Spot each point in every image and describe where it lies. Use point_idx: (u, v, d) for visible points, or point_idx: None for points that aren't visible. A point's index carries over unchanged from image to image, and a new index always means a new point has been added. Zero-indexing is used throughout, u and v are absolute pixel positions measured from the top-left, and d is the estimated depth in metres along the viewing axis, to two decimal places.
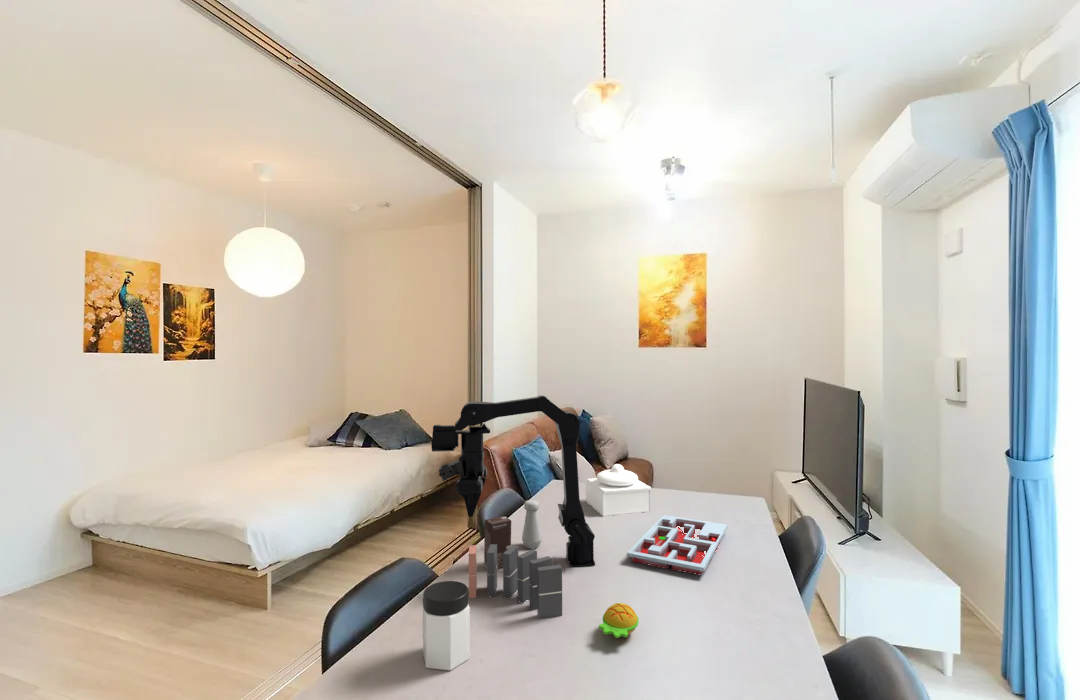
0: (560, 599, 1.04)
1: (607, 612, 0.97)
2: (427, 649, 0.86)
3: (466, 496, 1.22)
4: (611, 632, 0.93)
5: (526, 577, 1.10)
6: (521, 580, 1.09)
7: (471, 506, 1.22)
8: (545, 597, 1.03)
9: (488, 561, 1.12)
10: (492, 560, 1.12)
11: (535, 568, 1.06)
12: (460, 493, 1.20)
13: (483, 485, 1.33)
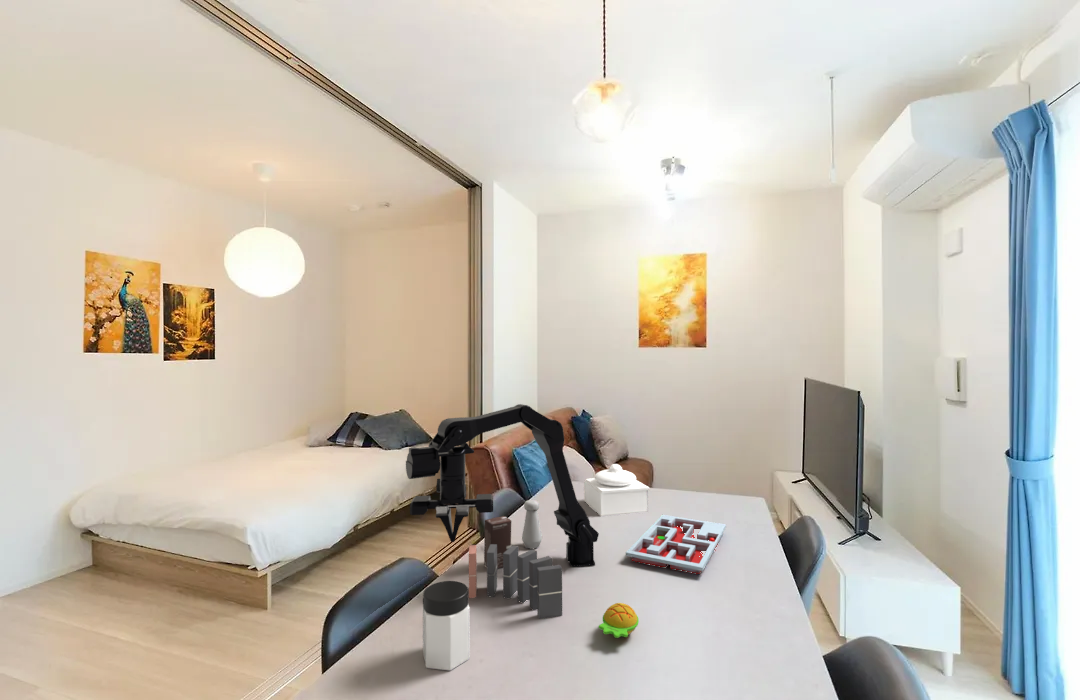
0: (560, 599, 1.04)
1: (607, 612, 0.97)
2: (427, 649, 0.86)
3: None
4: (611, 632, 0.93)
5: (526, 577, 1.10)
6: (521, 580, 1.09)
7: None
8: (545, 597, 1.03)
9: (488, 561, 1.12)
10: (492, 560, 1.12)
11: (535, 568, 1.06)
12: None
13: (454, 522, 1.12)
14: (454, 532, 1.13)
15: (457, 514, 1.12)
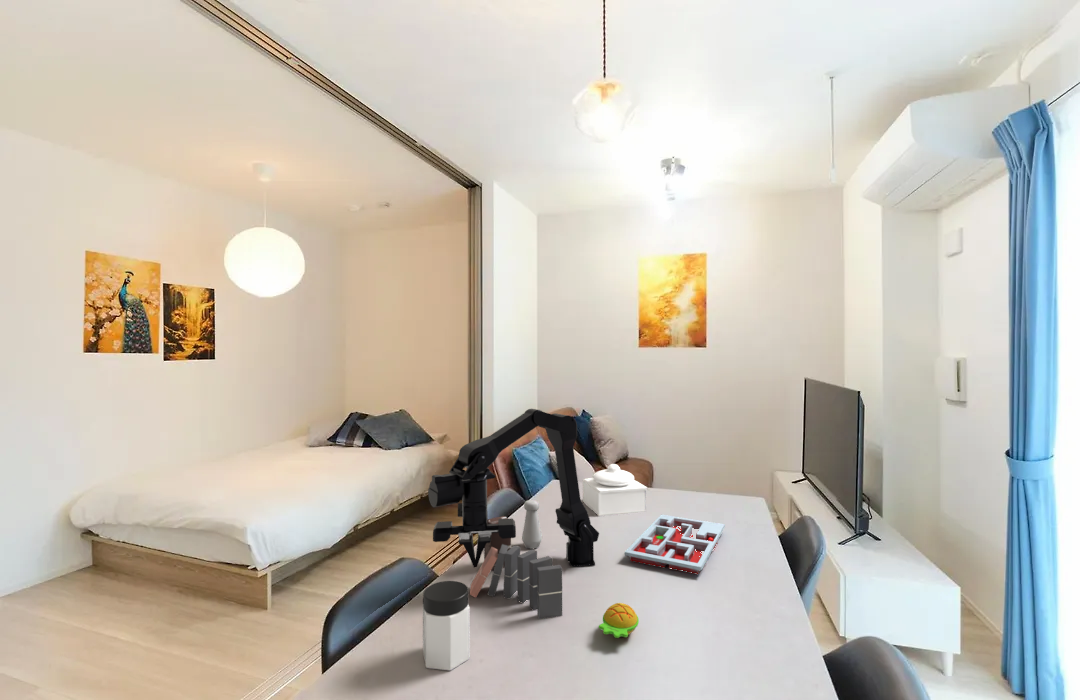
0: (560, 599, 1.04)
1: (607, 612, 0.97)
2: (427, 649, 0.86)
3: None
4: (611, 632, 0.93)
5: (526, 577, 1.10)
6: (521, 580, 1.09)
7: None
8: (545, 597, 1.03)
9: (498, 561, 1.12)
10: (502, 561, 1.12)
11: (535, 568, 1.06)
12: None
13: (477, 548, 1.12)
14: (477, 558, 1.13)
15: (480, 540, 1.12)
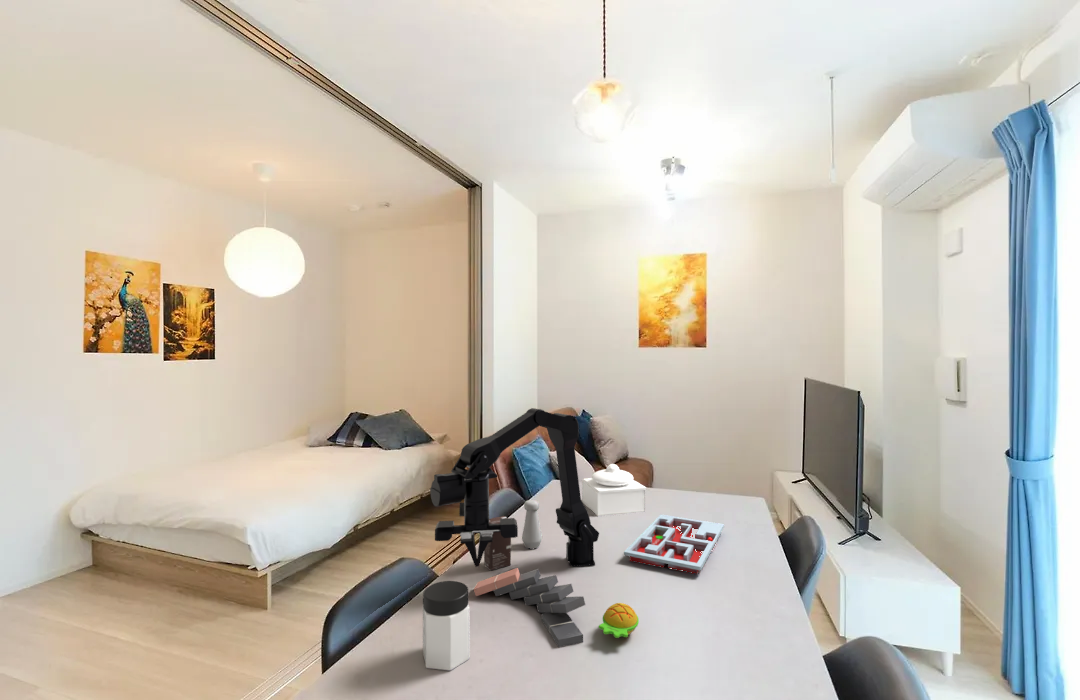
0: None
1: (607, 612, 0.97)
2: (427, 649, 0.86)
3: None
4: (611, 632, 0.93)
5: None
6: (541, 601, 1.05)
7: None
8: None
9: (526, 580, 1.10)
10: (528, 584, 1.10)
11: None
12: None
13: (479, 547, 1.12)
14: (479, 557, 1.13)
15: (482, 539, 1.12)
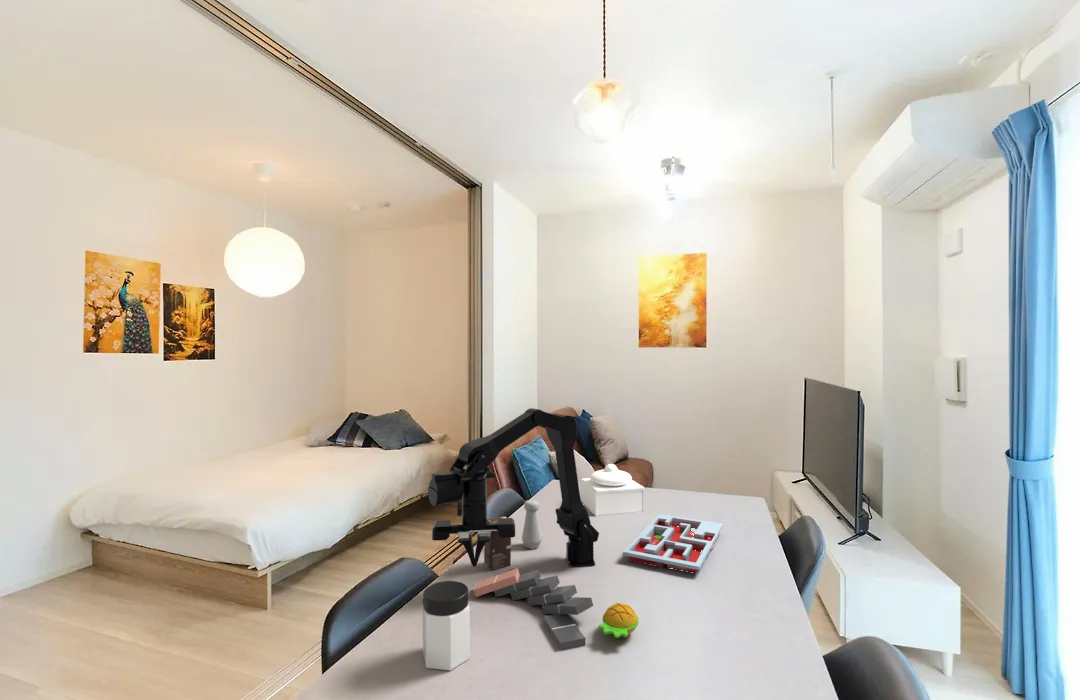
0: None
1: (607, 612, 0.97)
2: (427, 649, 0.86)
3: None
4: (611, 632, 0.93)
5: None
6: (545, 602, 1.05)
7: None
8: None
9: (526, 581, 1.10)
10: (528, 585, 1.10)
11: None
12: None
13: (476, 547, 1.12)
14: (476, 557, 1.13)
15: (479, 539, 1.12)
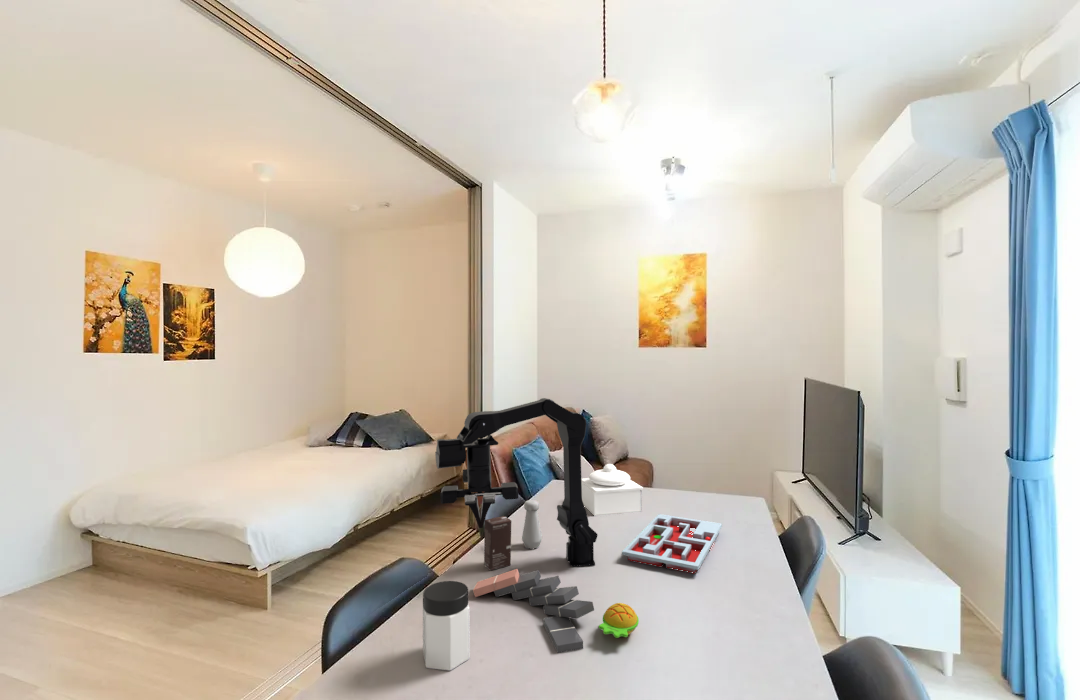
0: None
1: (607, 612, 0.97)
2: (427, 649, 0.86)
3: None
4: (611, 632, 0.93)
5: None
6: (546, 602, 1.05)
7: None
8: None
9: (526, 582, 1.10)
10: (528, 586, 1.10)
11: None
12: None
13: (482, 509, 1.19)
14: (482, 518, 1.20)
15: (485, 501, 1.19)
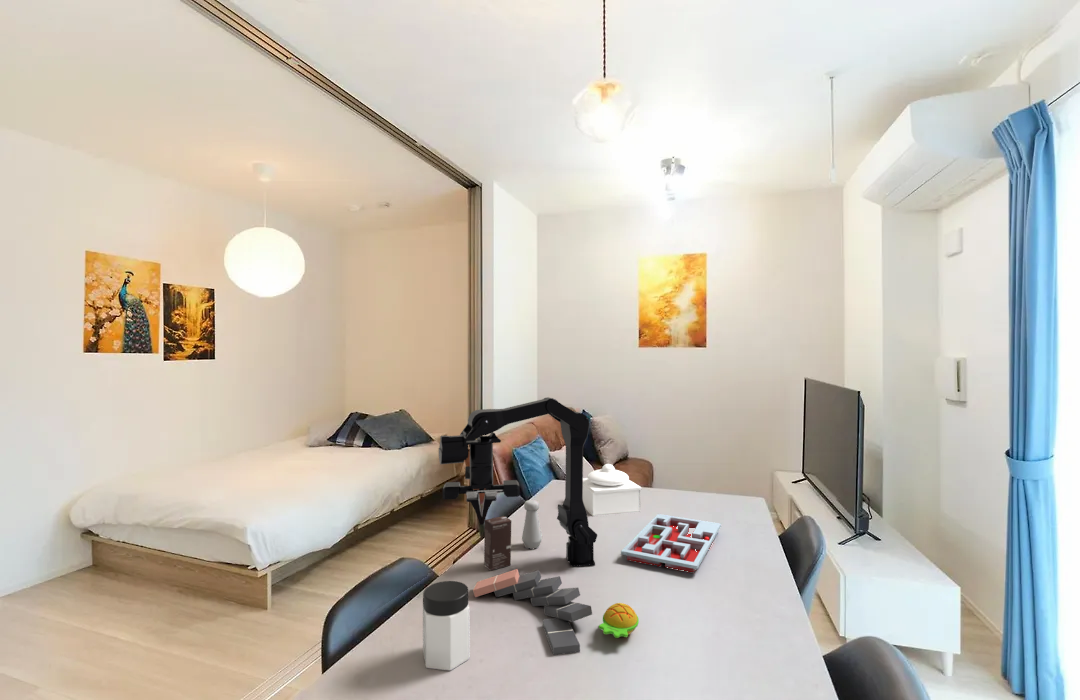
0: None
1: (607, 612, 0.97)
2: (427, 649, 0.86)
3: None
4: (611, 632, 0.93)
5: None
6: (547, 603, 1.05)
7: None
8: None
9: (526, 582, 1.10)
10: (529, 586, 1.10)
11: None
12: None
13: (483, 505, 1.20)
14: (483, 515, 1.21)
15: (486, 498, 1.20)
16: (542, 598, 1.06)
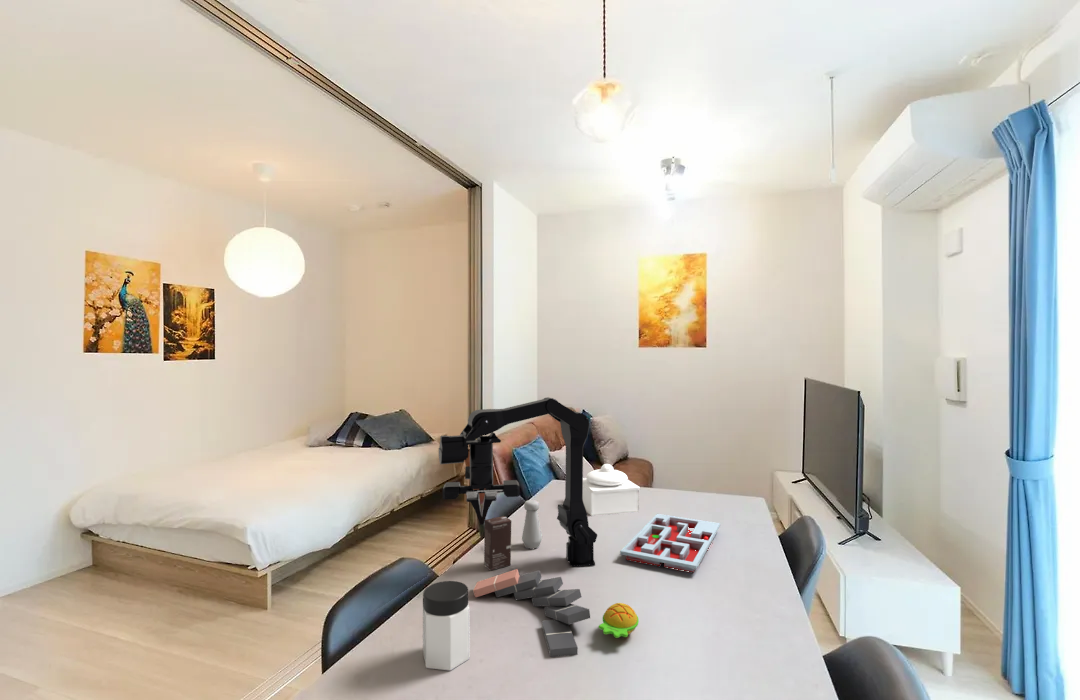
0: None
1: (607, 612, 0.97)
2: (427, 649, 0.86)
3: None
4: (611, 632, 0.93)
5: None
6: (548, 604, 1.05)
7: None
8: None
9: (527, 582, 1.10)
10: (529, 586, 1.10)
11: None
12: None
13: (483, 505, 1.20)
14: (483, 515, 1.21)
15: (486, 498, 1.20)
16: (543, 599, 1.06)
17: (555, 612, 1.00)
